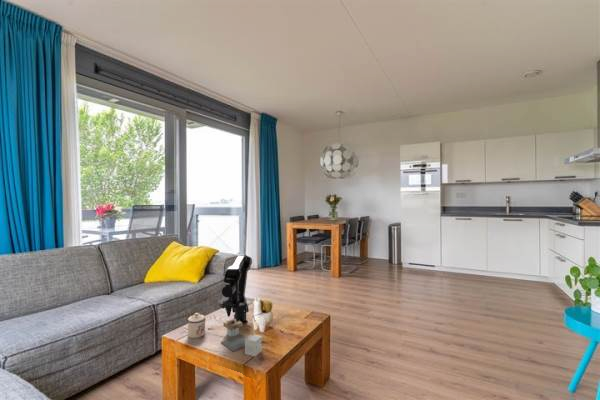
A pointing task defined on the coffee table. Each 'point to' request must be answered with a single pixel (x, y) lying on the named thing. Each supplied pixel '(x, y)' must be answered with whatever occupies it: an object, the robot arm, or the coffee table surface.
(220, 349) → the coffee table surface
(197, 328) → the teacup with lid
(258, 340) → the skincare box
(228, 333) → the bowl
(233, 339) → the mat
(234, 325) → the lid
